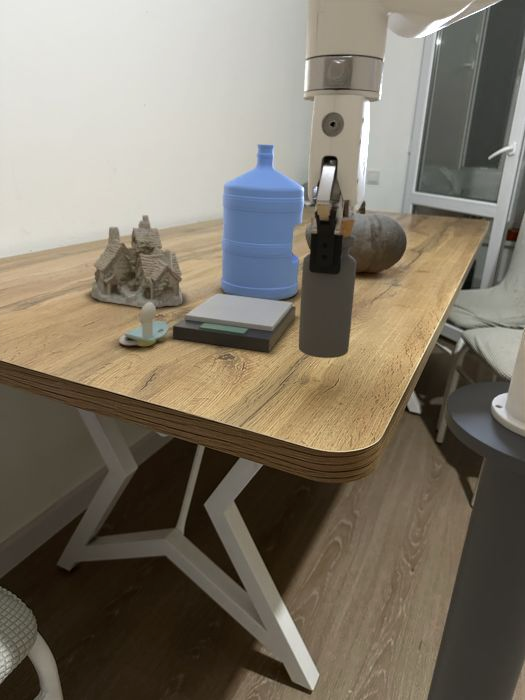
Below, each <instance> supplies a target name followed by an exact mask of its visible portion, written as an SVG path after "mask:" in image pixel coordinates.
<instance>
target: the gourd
mask: <svg viewBox="0 0 525 700" xmlns="http://www.w3.org/2000/svg"><path fill="white" fill-rule="evenodd" d="M366 203H367V202H366V200H362V201H361V204H360V207H359V208H358V210H356V212H354V211H353V210H351V209H350V218H353V219H355V222H354V226H353V229H352V232H351V235H353V236H355V245H354V246H353V247H349V255H350V256H352V257H353V258H354V259H355V260H356V273H362V272H364V273H371V274H376V273H381V272H384V271H386V270H388V269H390V268H392V267H394V266H395V265H396V264H398V262H400V260H401V259H402V258H403V256H404V254H405V253H406V250H407V245H408V239H407V234H406V231H405V228H404V227H403V226H402V224H401V223H399V221H397V220H396V218H394V217H392V216H390V215H387V214H384V213H373V214H369V213H366V212H367V211H366V205H367V204H366ZM311 233H312V226H311V221H309V223H308V224H307V226H306V228H305V234H304V235H305V241H306V244H307V246H308V249H309V250H310V247H311V245H310V244H308V235H309V234H311Z"/></svg>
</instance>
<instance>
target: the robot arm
mask: <svg viewBox="0 0 525 700" xmlns="http://www.w3.org/2000/svg"><path fill="white" fill-rule="evenodd" d="M501 1H503V0H308V1H307V18H306V19H307V20H306V21H307V22H306V26H307V27H306V40H305V41H306V42H305V59H304V61H305V63H304V79H303V80H304V82H303V100H304V101H310V102H313V104H312V105H313V106H312V107H313V108H312V117H311V126H310V127H311V129H310V139H309V140H310V141H309V152H308V156H309V157H308V170H307V196H308V200H309V202H311V203H312V204H313V205H314V212H313V217H314V218H313V227H312V233H311V247H310V249H309V254H310V263H309V270H310V271H311V272H313V273H325V274H338V273H339V272H340V269H341V257H342V244H343V235H340V233H341V225H342V217H349V218H350V210H351V207H356V205H358V204H359V203H360V202H362V201H363V200H364V198H365V192H366V191H365V190H366V174H367V163H368V162H367V160H368V150H369V149H368V148H369V134H370V103H375V102H378V101H379V102H380V101H381V99H382V98H381V97H382V89H383V87H382V86H383V78H384V67H385V58H386V57H385V55H386V45H387V37H388V29H389V31H390V32H391V33H392V34H393V33H394V34H395V35H397V36H398V37H401V38H406V39H417V38H418V39H419V38H422V37H425V36H428V35H431V34H432V33H434V32H437V31H439V30H441V29H443V28H446V27H448V26H450V25H451V24H454V23H457V22H458V21H460V20H462V19H466V18H467V17H469V16H471V15H474V14H476V13H478V12H480V11H483V10H485V9H486V8H490V7H491V6H493V5H495V4H497V3H500V2H501ZM335 219H336V220H335ZM509 382H510V387H509V391H508V393H504V394H501V395H498V396H497V397H495V398H494V399H493V401H492V404H491V413H492V415H493V417H494V418H495V419H496V420H497V421H498V422H499V423H500V424H501V425H503V426H504V427H505V428H507V429H509V430H511V431H512V432H514V433H516V434H518V435H521V436H523V437H525V324H524V325H523V328H522V334H521V337H520V342H519V346H518V350H517V354H516V359H515V362H514V366H513V371H512V375H511V379H510V381H509Z"/></svg>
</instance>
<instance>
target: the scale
mask: <svg viewBox="0 0 525 700" xmlns="http://www.w3.org/2000/svg"><path fill="white" fill-rule="evenodd" d="M296 309H297V307H296V306H295V305H293V302H290V301H285V300H268V299H259V298H251V297H243V296H235V295H228V294H227V293H214V294H213V295H212V296H211V297H209V298H208V299H206V300H205V301H203V302H202V303H200V304H199V305H198V306H196V307H195V308H193V309H192V310H190V311H189V312H187V313H185V316H184V318H182V319H181V320H179V321H178V322H176V323H175V324H174V325H173V326H172V339H175V340H181V341H189V342H195V343H204V344H210V345H216V346H217V345H218V346H224V347H230V348H237V349H244V350H251V351H257V352H263V353H269V352H270V351H271V350H272V348H273V347H274V346H275V344H276V343H277V342H278V340H279V339H280V338H281V336H283V334H284V332H285V331H286V330H287V328H289V326H290V325H291V323H292V322H293V321H294V319H295V318H296Z"/></svg>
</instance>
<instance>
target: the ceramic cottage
mask: <svg viewBox="0 0 525 700" xmlns="http://www.w3.org/2000/svg"><path fill="white" fill-rule="evenodd" d="M141 216H142V217H141V220H139V222H138V227H132V231H131V241H130V245H131V247H127V246H126V245H125V243H124V242H122V241H121V233H120V228H119V227H118V226H109V229H108V238H107V245H106V246H105V249H104V251H103V252H102V253H101V254H100V256H99V258H98V259H97V260H96V262H95V263H93V265H92V266H93V267H94V268H96V270H95V271H94V280H95V281H94V282H93V283H92V285H91V286H92V287H91V293H90V296H91V297H92V298H93V299H95V300H98V301H99V302H104V303H105V302H106V303H113V304H119V305H127V306H131V307H136V308H141V309H142V308H143V306H144V305H145V304H146V303H148V302H151V303H153V304H154V306H155V308H156V309H157V308H162V307H163V308H164V307H168V306H169V307H172V306H173V307H176V306H179V305H182V304H183V301H184V300H183V296H182V290H181V287H180V283H181V282H182V280H183V278H182V271H181V268H180V265H179V262H178V257H177V254H176V252H175V251H173V252H171V249H165V250H163V249H162V248H163V244H162V240H161V239H162V238H161V236H160V233H159V229H158V227H153V228H152V227H151V222H150V218H149V215H148V214H143V215H141Z"/></svg>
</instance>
